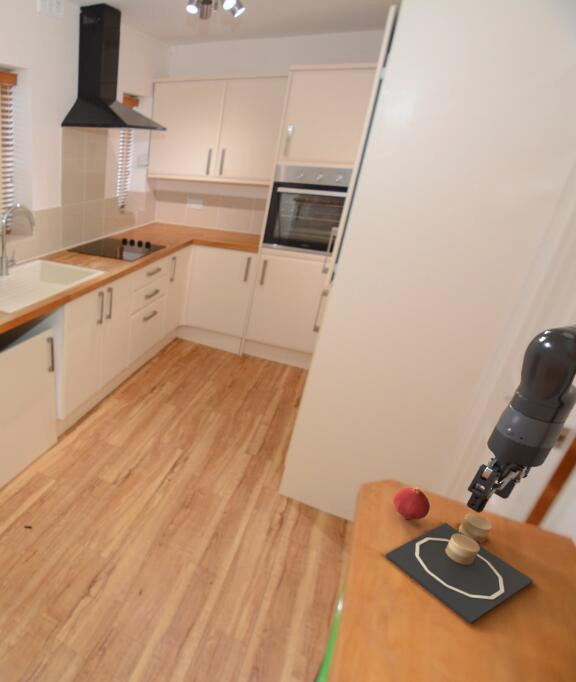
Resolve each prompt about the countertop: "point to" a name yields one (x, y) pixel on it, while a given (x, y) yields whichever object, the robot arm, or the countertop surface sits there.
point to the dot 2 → (462, 549)
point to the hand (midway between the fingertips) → (487, 502)
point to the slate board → (458, 574)
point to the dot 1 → (475, 527)
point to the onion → (411, 503)
